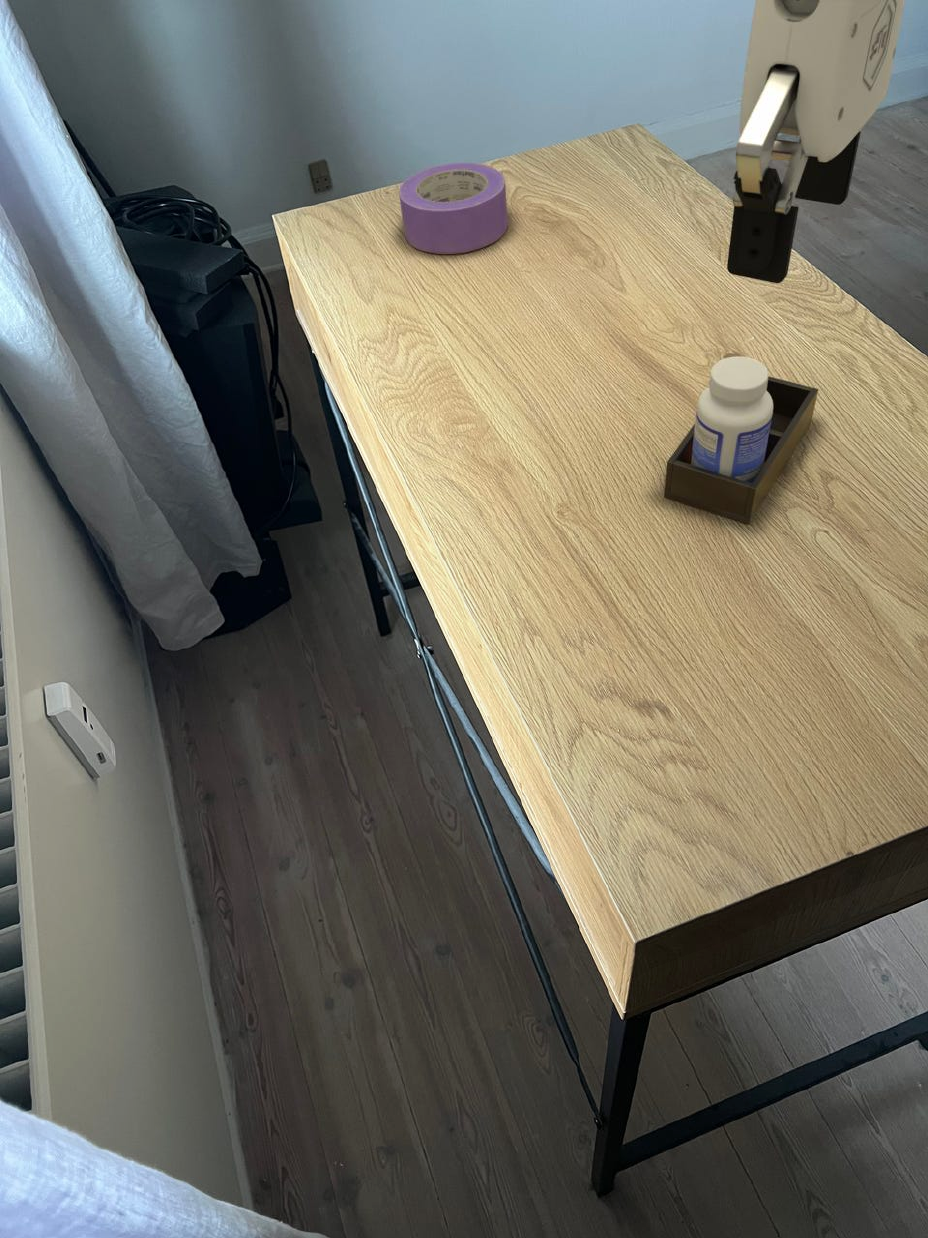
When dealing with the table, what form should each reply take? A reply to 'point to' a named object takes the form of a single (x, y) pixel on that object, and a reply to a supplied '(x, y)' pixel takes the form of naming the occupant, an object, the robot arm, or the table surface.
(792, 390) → the brown wooden tray
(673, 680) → the table surface
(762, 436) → the pill bottle
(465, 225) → the tape roll
